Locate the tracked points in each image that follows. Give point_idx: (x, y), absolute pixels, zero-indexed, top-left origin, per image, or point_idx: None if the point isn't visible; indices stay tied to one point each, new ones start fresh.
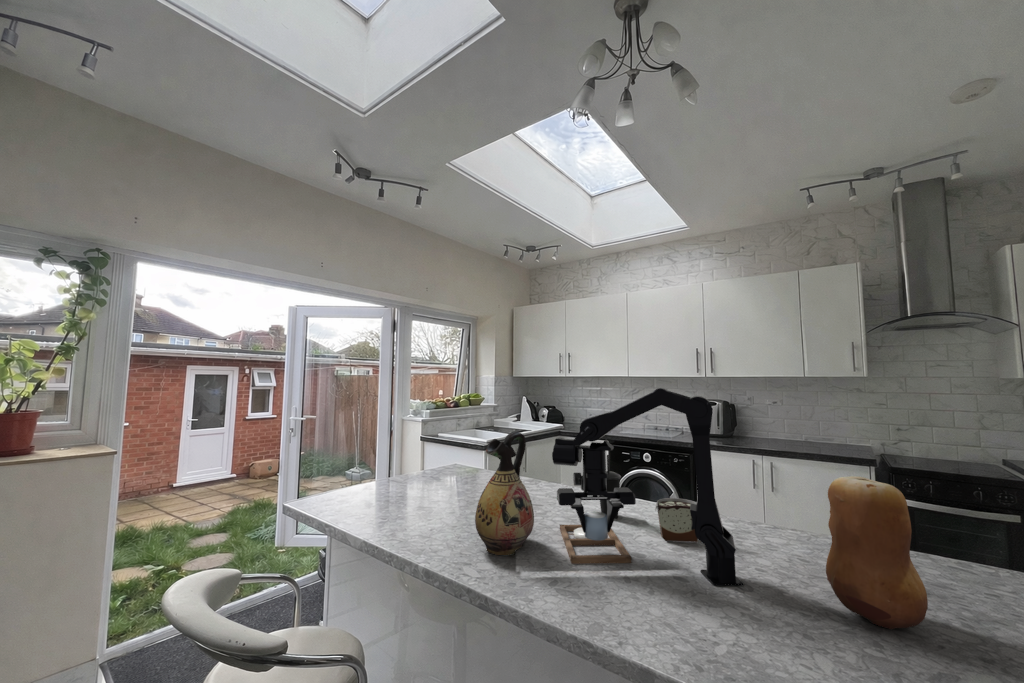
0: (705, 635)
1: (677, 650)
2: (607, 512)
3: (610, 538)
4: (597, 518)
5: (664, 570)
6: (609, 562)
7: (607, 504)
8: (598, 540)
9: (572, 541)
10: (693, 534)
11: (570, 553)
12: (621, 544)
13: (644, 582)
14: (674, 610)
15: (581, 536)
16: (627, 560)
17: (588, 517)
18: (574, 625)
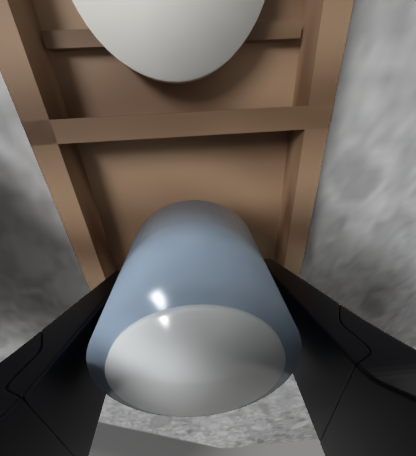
0: (298, 413)
1: (251, 430)
2: (327, 348)
3: (290, 109)
4: (200, 412)
5: (365, 275)
6: None
7: (412, 423)
8: (218, 133)
9: (76, 142)
10: None
11: (88, 282)
12: (312, 190)
13: None
14: (290, 384)
15: (121, 60)
16: None
17: (130, 406)
18: (132, 419)
